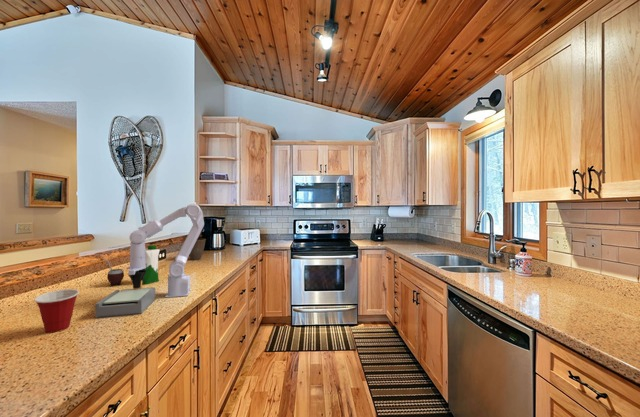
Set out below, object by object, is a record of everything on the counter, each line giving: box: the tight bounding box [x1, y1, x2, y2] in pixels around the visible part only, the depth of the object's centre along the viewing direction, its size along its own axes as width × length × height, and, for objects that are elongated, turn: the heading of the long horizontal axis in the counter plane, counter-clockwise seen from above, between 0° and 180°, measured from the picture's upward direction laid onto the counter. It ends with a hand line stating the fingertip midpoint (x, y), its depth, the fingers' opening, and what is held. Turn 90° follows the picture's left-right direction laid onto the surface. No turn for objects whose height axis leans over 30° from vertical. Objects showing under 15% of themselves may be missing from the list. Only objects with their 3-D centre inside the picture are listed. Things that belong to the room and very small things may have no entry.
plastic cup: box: [34, 288, 80, 334], centre depth 89 cm, size 11×11×12 cm
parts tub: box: [94, 287, 156, 319], centre depth 108 cm, size 15×17×5 cm
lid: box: [103, 280, 154, 304], centre depth 110 cm, size 12×17×4 cm
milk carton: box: [142, 244, 161, 285], centre depth 146 cm, size 9×9×20 cm
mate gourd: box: [102, 258, 125, 288], centre depth 139 cm, size 8×8×15 cm
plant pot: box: [188, 238, 207, 261], centre depth 210 cm, size 15×15×16 cm
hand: (137, 287), depth 118 cm, fingers closed on lid
